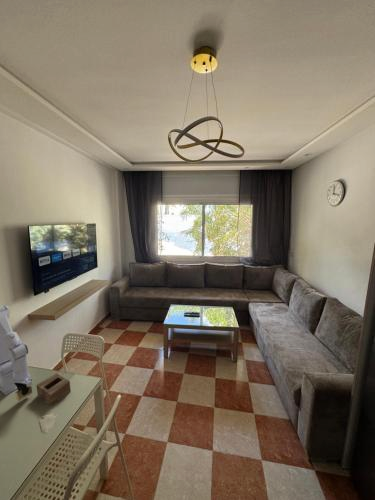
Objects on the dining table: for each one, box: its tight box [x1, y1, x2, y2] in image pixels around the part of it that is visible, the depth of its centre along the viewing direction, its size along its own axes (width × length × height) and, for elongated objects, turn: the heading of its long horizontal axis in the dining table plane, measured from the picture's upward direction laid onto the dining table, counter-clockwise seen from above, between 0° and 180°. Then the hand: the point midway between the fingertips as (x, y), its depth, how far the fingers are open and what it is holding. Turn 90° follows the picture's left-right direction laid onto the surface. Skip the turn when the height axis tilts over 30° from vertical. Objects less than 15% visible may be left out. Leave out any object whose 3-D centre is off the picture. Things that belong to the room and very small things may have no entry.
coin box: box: [36, 372, 71, 406], centre depth 116 cm, size 12×10×6 cm
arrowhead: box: [39, 412, 58, 435], centre depth 100 cm, size 7×2×10 cm
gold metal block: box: [14, 385, 33, 402], centre depth 112 cm, size 2×6×4 cm, turn 150°
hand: (23, 392), depth 112 cm, fingers closed on gold metal block, 2 cm apart
